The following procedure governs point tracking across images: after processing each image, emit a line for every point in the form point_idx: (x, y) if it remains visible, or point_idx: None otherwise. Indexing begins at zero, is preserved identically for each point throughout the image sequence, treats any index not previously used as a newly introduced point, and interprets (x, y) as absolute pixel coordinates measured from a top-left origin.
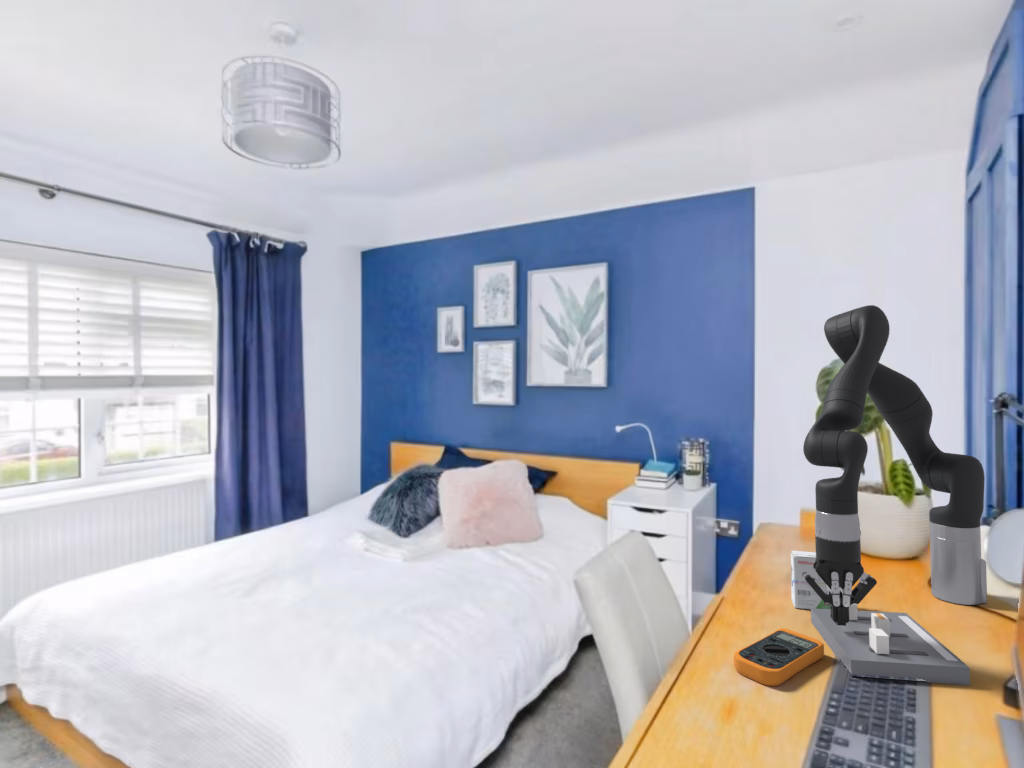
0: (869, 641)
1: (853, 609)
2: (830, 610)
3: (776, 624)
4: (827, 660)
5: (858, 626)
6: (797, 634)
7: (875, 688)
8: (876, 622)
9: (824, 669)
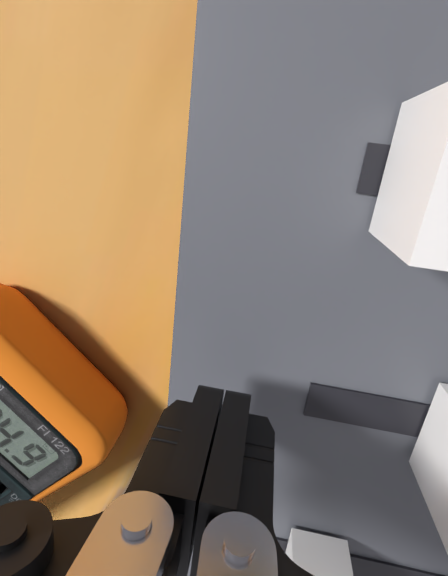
0: (292, 549)
1: None
2: (147, 448)
3: (4, 57)
4: (139, 426)
5: (389, 323)
6: (10, 377)
7: None
8: (446, 518)
9: (107, 475)
